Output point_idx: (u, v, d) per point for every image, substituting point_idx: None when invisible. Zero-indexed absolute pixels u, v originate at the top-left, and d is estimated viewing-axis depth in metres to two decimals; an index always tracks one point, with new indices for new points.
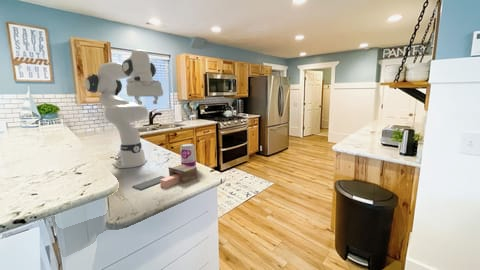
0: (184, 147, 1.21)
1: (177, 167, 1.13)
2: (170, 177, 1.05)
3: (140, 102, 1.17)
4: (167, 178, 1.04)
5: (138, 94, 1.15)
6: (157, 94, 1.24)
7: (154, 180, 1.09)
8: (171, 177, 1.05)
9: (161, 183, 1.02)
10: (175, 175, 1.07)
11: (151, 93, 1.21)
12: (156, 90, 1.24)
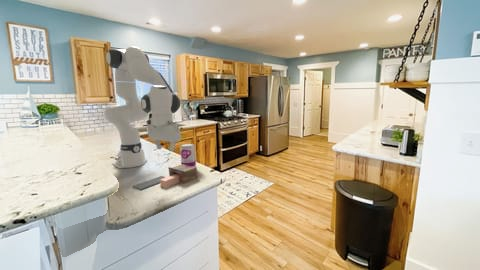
0: (184, 147, 1.21)
1: (177, 167, 1.13)
2: (170, 177, 1.05)
3: (157, 147, 1.04)
4: (167, 178, 1.04)
5: (153, 138, 1.03)
6: (169, 140, 0.96)
7: (154, 180, 1.09)
8: (171, 177, 1.05)
9: (161, 183, 1.03)
10: (175, 175, 1.07)
11: (163, 138, 0.98)
12: (167, 135, 0.96)
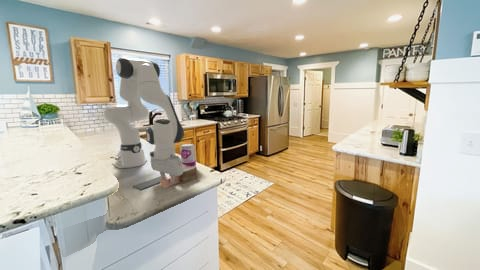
0: (184, 147, 1.21)
1: None
2: None
3: (162, 178, 1.05)
4: (167, 178, 1.04)
5: (156, 169, 1.05)
6: (171, 173, 0.99)
7: (154, 180, 1.09)
8: None
9: (161, 183, 1.03)
10: None
11: (166, 171, 1.01)
12: (170, 168, 0.99)
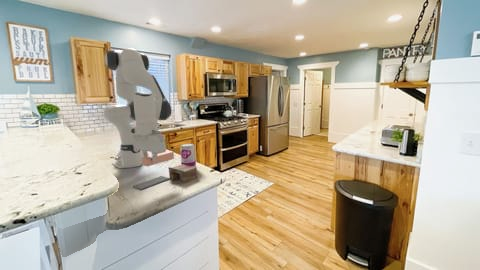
0: (184, 147, 1.21)
1: (177, 167, 1.13)
2: None
3: None
4: (150, 156, 0.96)
5: (138, 148, 0.97)
6: (153, 150, 0.90)
7: (154, 180, 1.09)
8: None
9: (143, 161, 0.94)
10: (159, 154, 0.99)
11: (147, 148, 0.92)
12: (152, 145, 0.90)
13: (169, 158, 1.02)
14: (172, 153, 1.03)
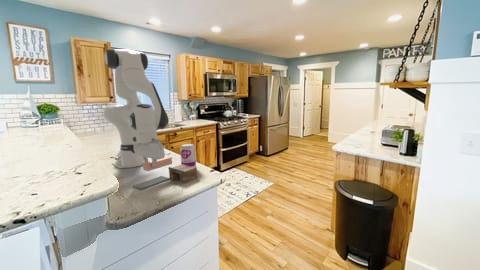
0: (184, 147, 1.21)
1: (177, 167, 1.13)
2: None
3: None
4: (150, 162, 1.05)
5: (139, 154, 1.07)
6: (153, 156, 1.00)
7: (154, 180, 1.09)
8: None
9: (143, 166, 1.04)
10: (158, 160, 1.09)
11: (148, 155, 1.02)
12: (152, 152, 1.00)
13: (167, 163, 1.12)
14: (170, 159, 1.13)
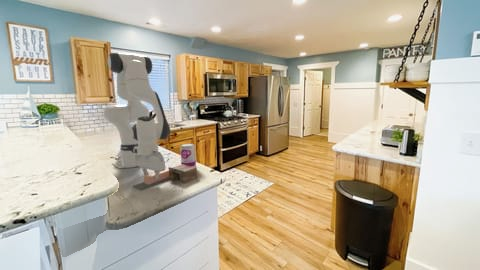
0: (184, 147, 1.21)
1: (177, 167, 1.13)
2: (154, 174, 1.08)
3: (144, 174, 1.08)
4: (151, 175, 1.07)
5: (140, 166, 1.08)
6: (154, 169, 1.01)
7: None
8: None
9: (144, 180, 1.05)
10: None
11: (148, 167, 1.03)
12: (153, 164, 1.01)
13: (168, 175, 1.13)
14: None
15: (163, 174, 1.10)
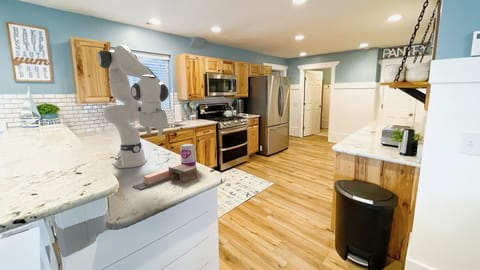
0: (184, 147, 1.21)
1: (177, 167, 1.13)
2: (154, 174, 1.08)
3: (147, 132, 1.11)
4: (151, 175, 1.07)
5: (143, 124, 1.11)
6: (157, 126, 1.04)
7: None
8: (155, 174, 1.08)
9: (144, 180, 1.05)
10: (159, 172, 1.10)
11: (152, 124, 1.06)
12: (156, 121, 1.04)
13: (168, 175, 1.13)
14: None
15: (163, 174, 1.10)
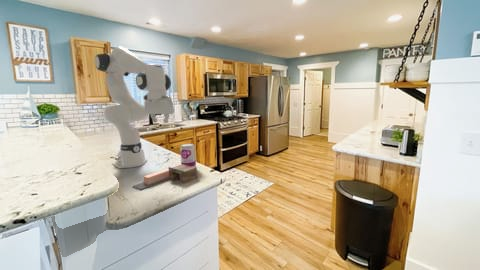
0: (184, 147, 1.21)
1: (177, 167, 1.13)
2: (154, 174, 1.08)
3: (153, 120, 1.16)
4: (151, 175, 1.07)
5: (150, 112, 1.15)
6: (163, 112, 1.08)
7: None
8: (155, 174, 1.08)
9: (144, 180, 1.05)
10: (159, 172, 1.10)
11: (158, 111, 1.11)
12: (162, 108, 1.08)
13: (168, 175, 1.13)
14: None
15: (163, 174, 1.10)
